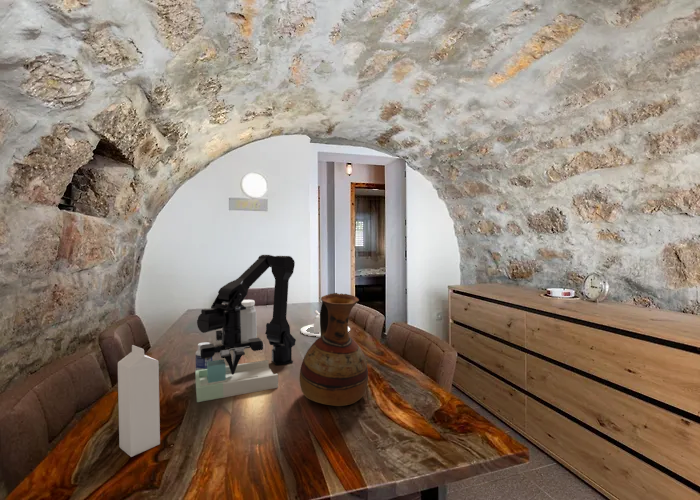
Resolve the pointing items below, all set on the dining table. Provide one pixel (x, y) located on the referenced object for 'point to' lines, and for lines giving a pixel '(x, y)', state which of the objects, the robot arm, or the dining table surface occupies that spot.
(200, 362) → the pill bottle
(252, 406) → the dining table surface
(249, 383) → the box
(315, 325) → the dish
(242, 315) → the jar
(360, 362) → the ceramic pitcher
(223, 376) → the block
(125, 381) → the milk
